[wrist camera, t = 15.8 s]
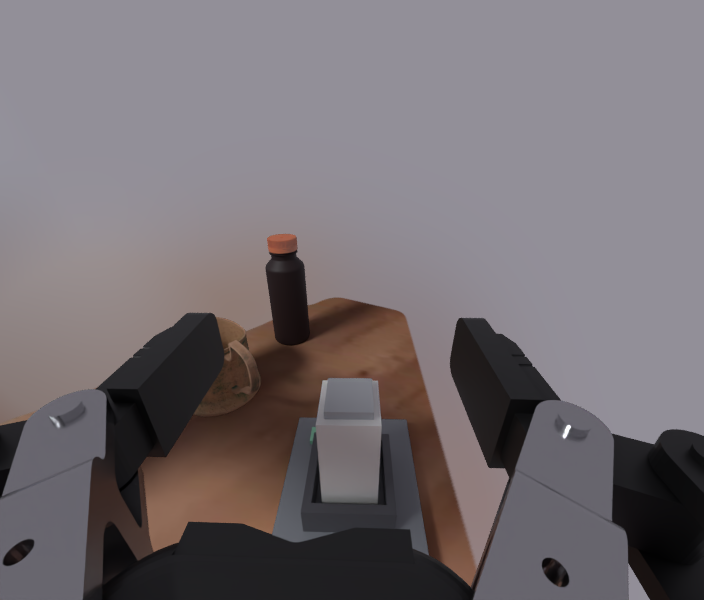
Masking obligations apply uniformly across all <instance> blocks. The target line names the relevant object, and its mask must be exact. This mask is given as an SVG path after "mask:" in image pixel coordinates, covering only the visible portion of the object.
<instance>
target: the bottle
mask: <svg viewBox="0 0 704 600" xmlns="http://www.w3.org/2000/svg"><path fill="white" fill-rule="evenodd" d="M267 241H268V249H269V253H270V255H271V257H272V258H271V260H270V261H269V262H268V263H267V265H266V275H267V282H268V289H269V296H270V303H271V310H272V317H273V325H274V332H275V338H276V340H277V341H278V342H279V343H281V344H285V345H295V344H299V343H302V342H303V341H305V340H306V339H307V338H308V337H309V334H310V331H309V318H308V306H307V294H306V281H305V269H304V264H303V262H302V261H301V260H300V259H299V258H298V257H296V253H297V238H296V236H295V235H291V234H278V235H273V236H270V237H268V238H267Z"/></svg>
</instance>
